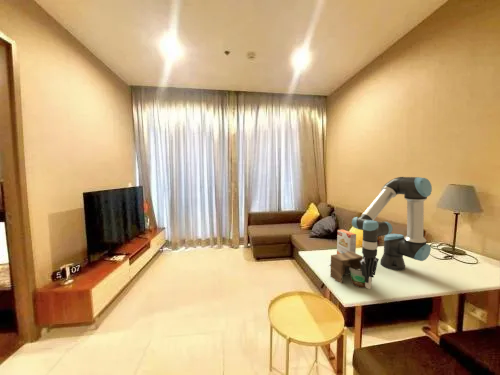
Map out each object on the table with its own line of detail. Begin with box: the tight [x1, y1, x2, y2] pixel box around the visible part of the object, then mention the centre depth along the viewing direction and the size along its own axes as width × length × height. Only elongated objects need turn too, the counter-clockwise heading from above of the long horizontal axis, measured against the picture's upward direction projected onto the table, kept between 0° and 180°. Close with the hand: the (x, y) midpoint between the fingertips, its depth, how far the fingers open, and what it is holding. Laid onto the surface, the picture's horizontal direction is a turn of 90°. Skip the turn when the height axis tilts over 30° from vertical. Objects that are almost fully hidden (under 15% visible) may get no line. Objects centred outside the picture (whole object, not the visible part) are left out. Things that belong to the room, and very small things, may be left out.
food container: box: [349, 267, 366, 288], centre depth 132 cm, size 12×6×10 cm, turn 69°
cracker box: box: [336, 229, 357, 254], centre depth 174 cm, size 14×6×21 cm, turn 20°
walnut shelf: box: [329, 252, 363, 284], centre depth 142 cm, size 17×9×14 cm, turn 111°
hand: (368, 287), depth 128 cm, fingers closed
